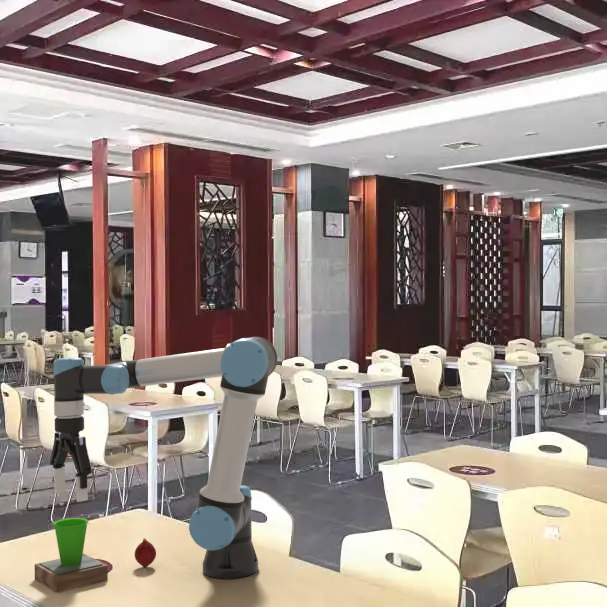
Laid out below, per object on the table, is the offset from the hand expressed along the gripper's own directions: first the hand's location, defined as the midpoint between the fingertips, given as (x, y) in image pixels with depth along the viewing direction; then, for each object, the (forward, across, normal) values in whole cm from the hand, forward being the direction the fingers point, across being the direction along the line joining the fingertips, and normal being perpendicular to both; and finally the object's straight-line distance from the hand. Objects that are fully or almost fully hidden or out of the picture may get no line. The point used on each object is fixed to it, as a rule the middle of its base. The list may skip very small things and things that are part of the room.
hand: (70, 496), depth 218 cm
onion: (+22, -4, -20) cm, 30 cm away
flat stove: (+22, 0, 0) cm, 22 cm away
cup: (+18, 0, 0) cm, 18 cm away
